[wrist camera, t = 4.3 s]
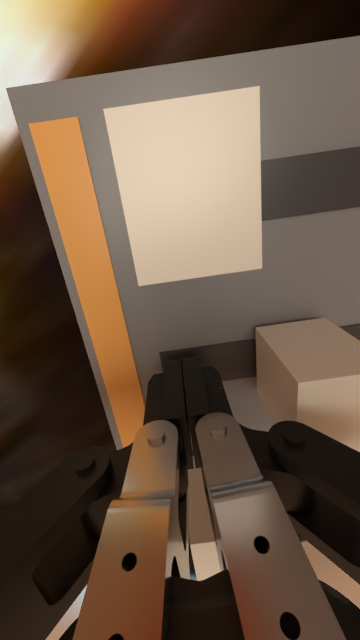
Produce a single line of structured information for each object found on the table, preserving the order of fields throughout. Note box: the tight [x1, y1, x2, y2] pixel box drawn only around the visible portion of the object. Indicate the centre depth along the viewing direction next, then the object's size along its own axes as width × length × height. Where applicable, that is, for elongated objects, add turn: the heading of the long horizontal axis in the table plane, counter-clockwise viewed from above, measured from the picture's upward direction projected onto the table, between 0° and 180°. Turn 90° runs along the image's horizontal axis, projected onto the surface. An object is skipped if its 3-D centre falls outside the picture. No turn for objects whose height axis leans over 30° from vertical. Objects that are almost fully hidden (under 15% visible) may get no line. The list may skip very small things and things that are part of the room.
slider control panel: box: [6, 36, 360, 456], centre depth 14 cm, size 18×22×4 cm
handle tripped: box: [255, 318, 360, 452], centre depth 10 cm, size 3×4×4 cm
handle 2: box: [188, 456, 221, 581], centre depth 13 cm, size 3×4×4 cm
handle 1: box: [103, 86, 262, 286], centre depth 8 cm, size 3×4×4 cm
